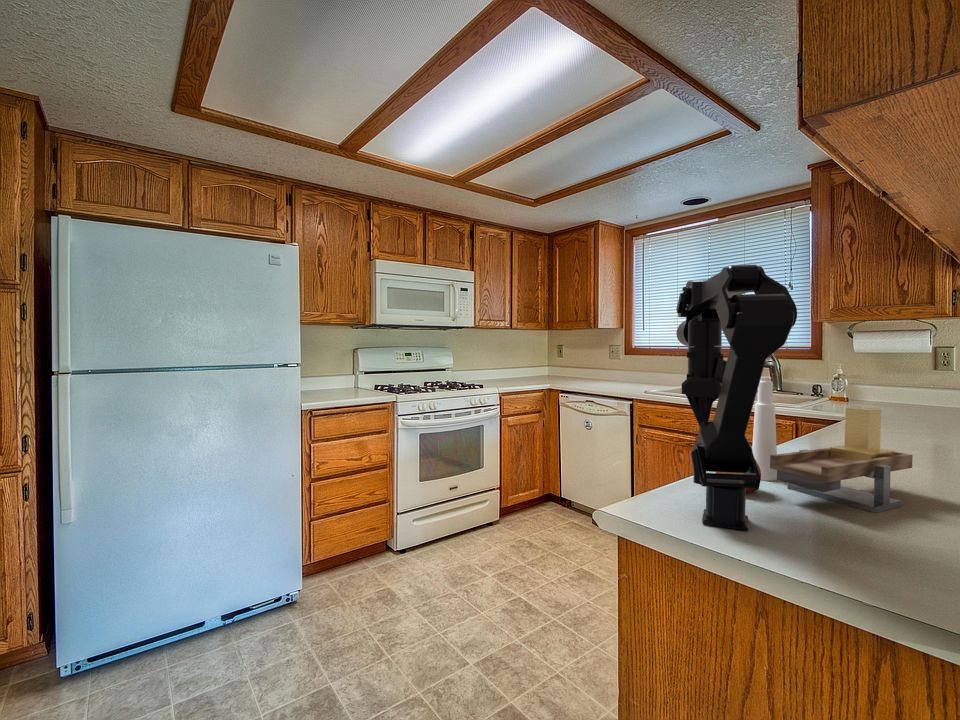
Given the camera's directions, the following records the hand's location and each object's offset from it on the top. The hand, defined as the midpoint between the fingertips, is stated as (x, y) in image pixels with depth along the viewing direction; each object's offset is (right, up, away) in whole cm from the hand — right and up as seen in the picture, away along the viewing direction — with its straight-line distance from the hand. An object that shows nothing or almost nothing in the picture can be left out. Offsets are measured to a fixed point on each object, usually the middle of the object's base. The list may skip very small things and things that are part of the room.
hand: (703, 429), depth 88 cm
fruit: (+9, -13, +5) cm, 17 cm away
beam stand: (+26, -13, 0) cm, 29 cm away
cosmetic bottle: (+20, -13, +14) cm, 27 cm away
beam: (+26, -9, 0) cm, 28 cm away
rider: (+32, -6, +3) cm, 33 cm away
